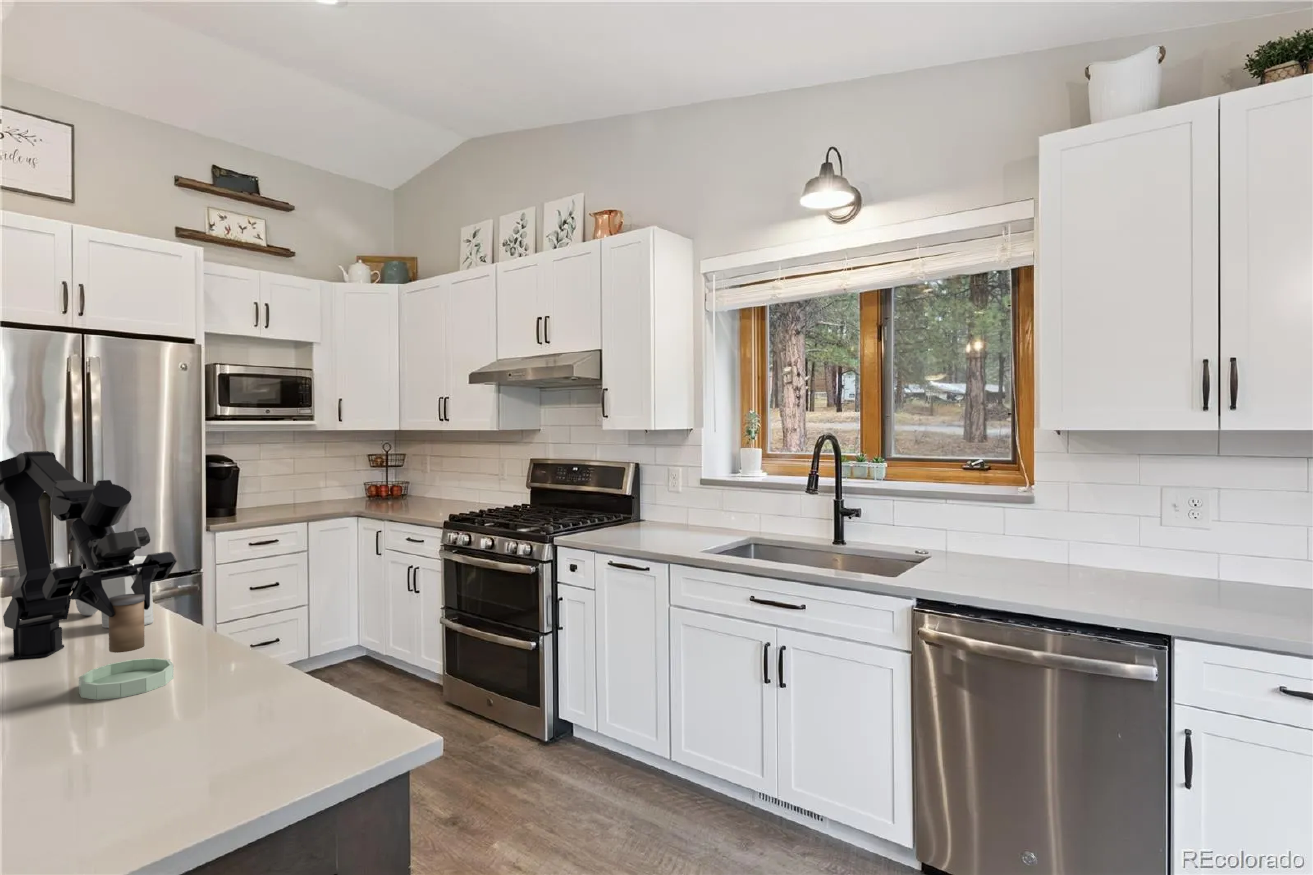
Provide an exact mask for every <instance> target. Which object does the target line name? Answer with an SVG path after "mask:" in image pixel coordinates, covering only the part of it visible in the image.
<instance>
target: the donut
mask: <svg viewBox="0 0 1313 875" xmlns="http://www.w3.org/2000/svg"><path fill="white" fill-rule="evenodd" d="M74 601H75V605H76V609H77V611H78V613H80V614H81V615H82V616H85V617H86V616H93V615H95V614H96V613H97V612H98V611H99V610H97V609H96V608H94V607H92V606H91V605H88V604H86V603H84V602H82V601H80V600H78V599H75V600H74Z"/></svg>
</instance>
